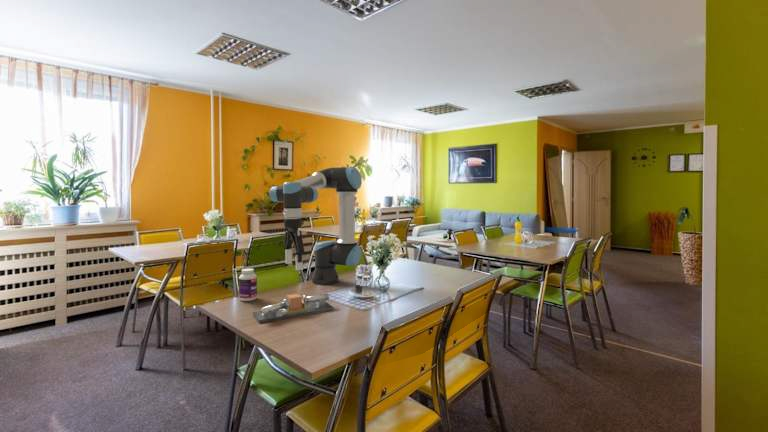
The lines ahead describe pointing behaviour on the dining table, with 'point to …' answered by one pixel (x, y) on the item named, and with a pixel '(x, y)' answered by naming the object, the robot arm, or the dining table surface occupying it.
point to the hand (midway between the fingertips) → (293, 266)
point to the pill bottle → (247, 285)
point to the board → (294, 312)
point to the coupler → (294, 301)
